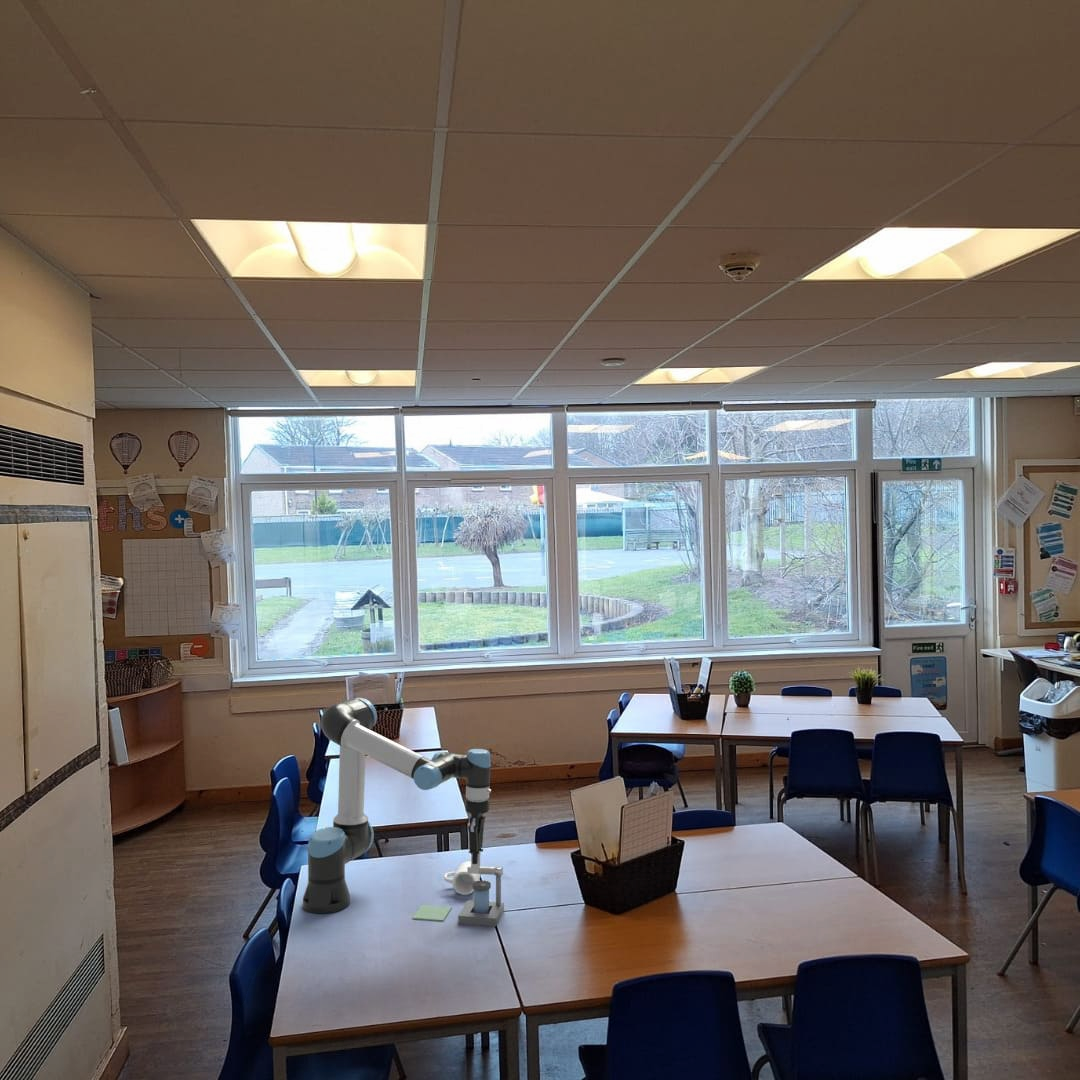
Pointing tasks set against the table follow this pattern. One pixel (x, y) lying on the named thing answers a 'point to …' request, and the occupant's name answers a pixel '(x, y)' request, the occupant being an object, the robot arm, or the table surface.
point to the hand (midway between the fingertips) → (475, 872)
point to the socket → (480, 918)
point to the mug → (462, 879)
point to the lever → (488, 870)
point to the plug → (481, 896)
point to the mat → (432, 913)
